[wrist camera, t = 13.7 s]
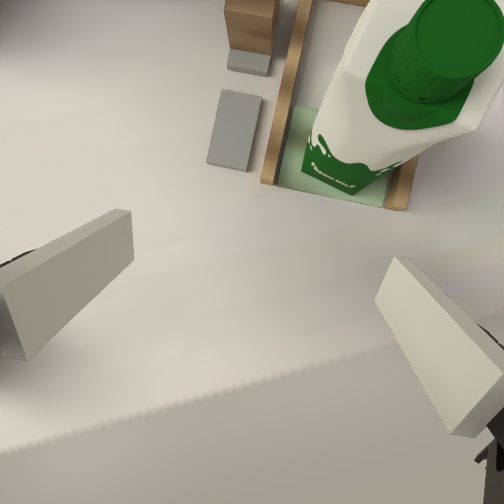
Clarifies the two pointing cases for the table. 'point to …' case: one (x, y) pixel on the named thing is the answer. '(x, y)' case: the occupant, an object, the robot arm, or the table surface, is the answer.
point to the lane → (301, 129)
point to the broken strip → (238, 114)
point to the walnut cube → (252, 24)
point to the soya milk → (405, 87)
